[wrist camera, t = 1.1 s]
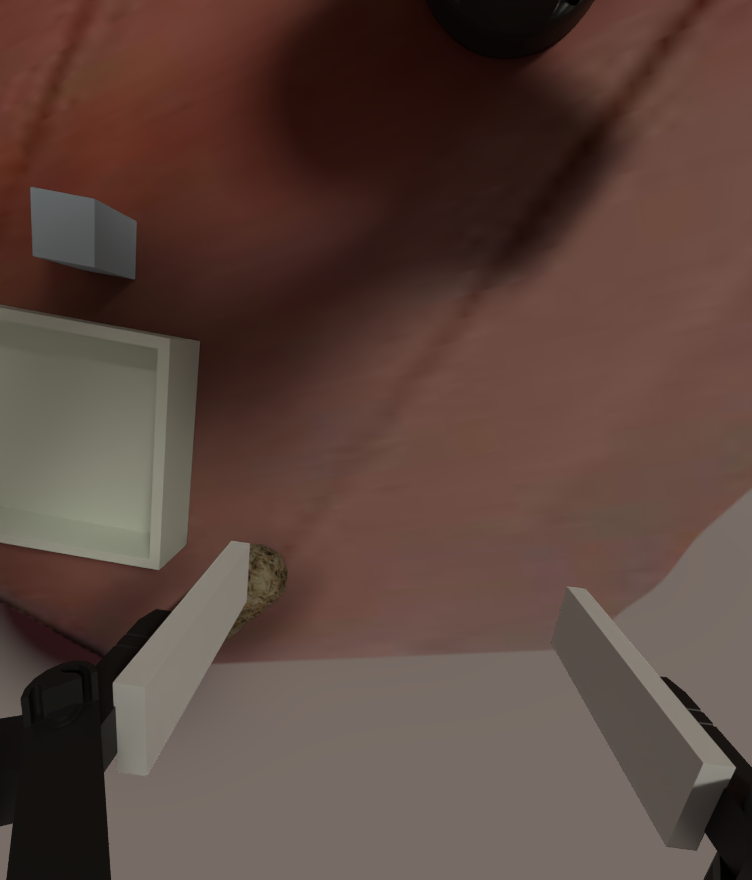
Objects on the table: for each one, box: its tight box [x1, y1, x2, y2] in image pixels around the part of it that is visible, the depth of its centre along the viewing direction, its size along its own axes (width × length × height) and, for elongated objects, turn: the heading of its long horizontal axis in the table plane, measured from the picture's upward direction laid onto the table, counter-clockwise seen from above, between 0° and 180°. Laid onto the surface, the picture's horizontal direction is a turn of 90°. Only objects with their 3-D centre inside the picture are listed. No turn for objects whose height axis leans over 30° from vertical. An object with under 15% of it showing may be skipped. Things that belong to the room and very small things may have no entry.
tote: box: [0, 305, 200, 570], centre depth 35 cm, size 22×30×5 cm
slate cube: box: [30, 187, 137, 280], centre depth 31 cm, size 5×5×5 cm
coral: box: [223, 544, 288, 643], centre depth 38 cm, size 14×6×6 cm, turn 131°
